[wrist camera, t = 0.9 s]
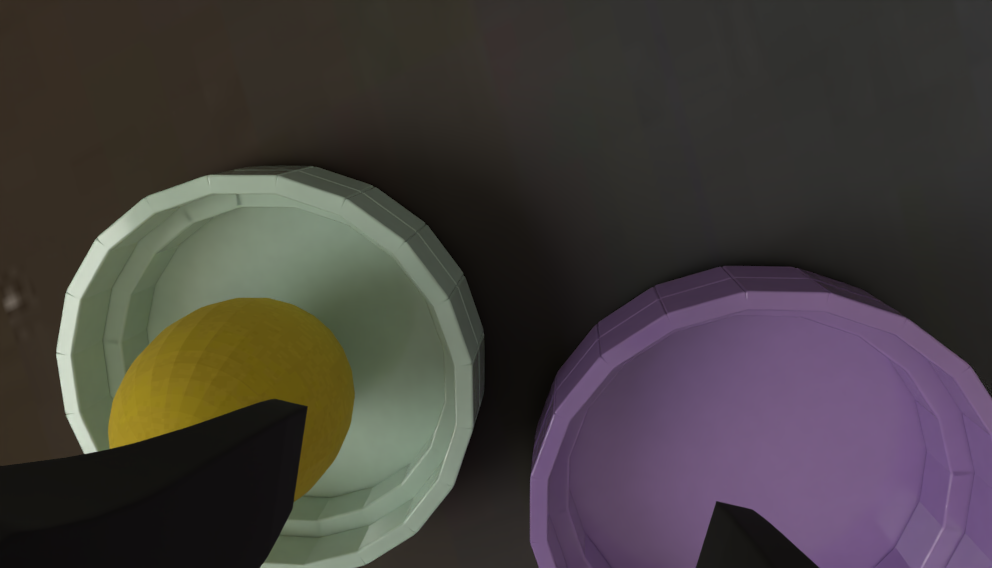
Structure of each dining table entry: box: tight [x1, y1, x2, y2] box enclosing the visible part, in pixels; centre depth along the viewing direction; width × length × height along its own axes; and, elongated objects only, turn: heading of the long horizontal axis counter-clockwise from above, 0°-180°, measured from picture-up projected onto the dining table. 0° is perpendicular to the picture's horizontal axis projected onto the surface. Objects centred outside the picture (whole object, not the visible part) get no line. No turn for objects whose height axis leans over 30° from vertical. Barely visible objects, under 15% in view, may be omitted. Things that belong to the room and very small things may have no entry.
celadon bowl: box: [56, 166, 485, 568], centre depth 22 cm, size 12×12×3 cm
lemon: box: [108, 298, 355, 502], centre depth 19 cm, size 6×6×8 cm
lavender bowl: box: [530, 266, 992, 568], centre depth 21 cm, size 13×13×3 cm
